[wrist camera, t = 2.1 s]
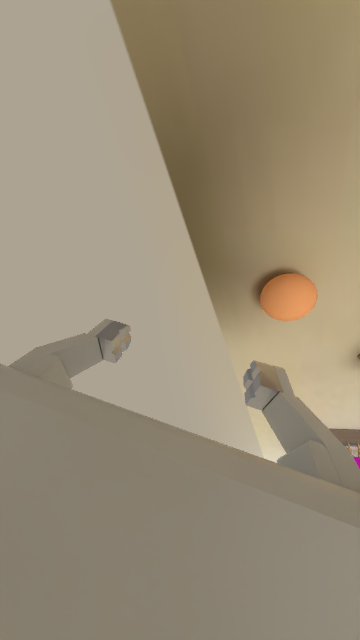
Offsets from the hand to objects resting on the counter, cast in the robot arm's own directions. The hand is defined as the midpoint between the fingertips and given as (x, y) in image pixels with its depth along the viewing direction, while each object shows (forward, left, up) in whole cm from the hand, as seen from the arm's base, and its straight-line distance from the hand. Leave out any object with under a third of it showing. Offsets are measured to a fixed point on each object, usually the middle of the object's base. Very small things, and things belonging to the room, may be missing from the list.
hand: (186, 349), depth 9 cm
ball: (0, +9, -13) cm, 16 cm away
